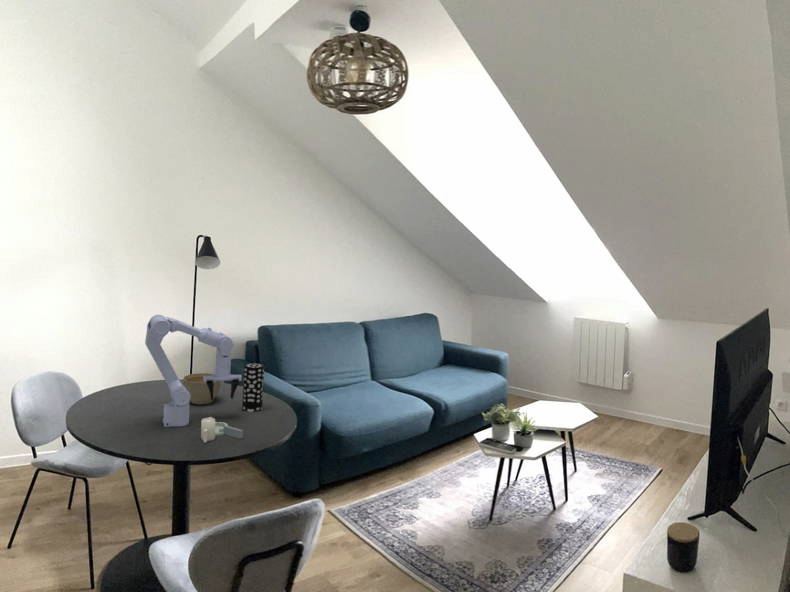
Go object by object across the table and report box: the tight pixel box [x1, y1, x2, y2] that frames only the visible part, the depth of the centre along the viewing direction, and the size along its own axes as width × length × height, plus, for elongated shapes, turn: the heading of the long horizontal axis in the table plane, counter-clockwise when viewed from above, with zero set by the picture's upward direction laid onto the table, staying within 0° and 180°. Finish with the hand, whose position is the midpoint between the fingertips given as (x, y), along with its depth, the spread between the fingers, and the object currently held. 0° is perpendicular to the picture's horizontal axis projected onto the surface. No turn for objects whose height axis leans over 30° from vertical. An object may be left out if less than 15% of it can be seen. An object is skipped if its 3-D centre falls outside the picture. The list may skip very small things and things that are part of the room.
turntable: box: [215, 421, 244, 440], centre depth 214 cm, size 14×14×3 cm
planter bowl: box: [182, 372, 222, 405], centre depth 252 cm, size 16×16×11 cm
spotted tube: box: [241, 362, 265, 413], centre depth 243 cm, size 8×8×20 cm
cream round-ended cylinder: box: [200, 416, 216, 444], centre depth 207 cm, size 8×5×7 cm, turn 4°
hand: (221, 398), depth 229 cm, fingers open, 7 cm apart
